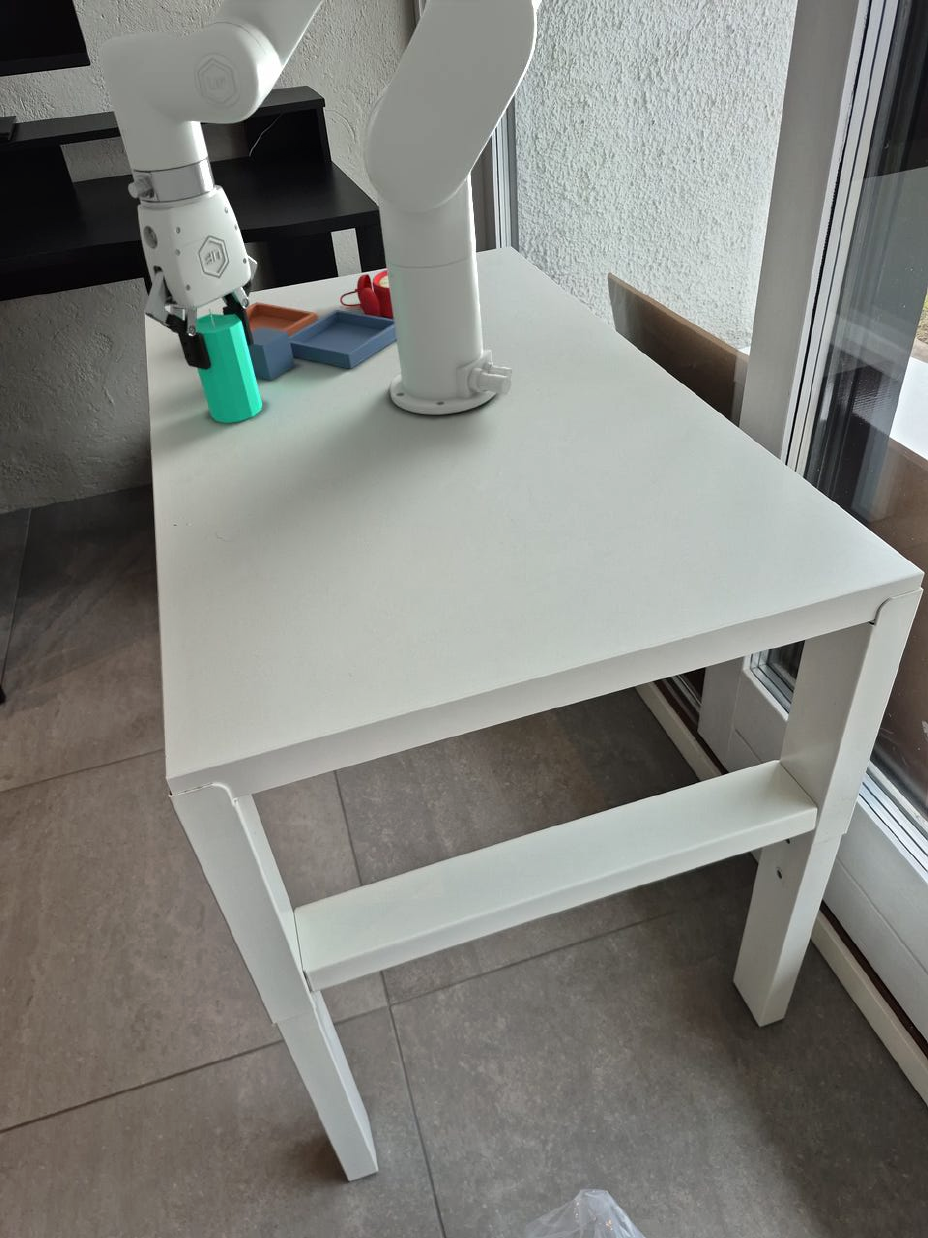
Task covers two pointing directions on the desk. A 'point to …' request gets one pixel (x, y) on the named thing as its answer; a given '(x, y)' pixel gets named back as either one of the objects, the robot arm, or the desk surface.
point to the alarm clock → (373, 295)
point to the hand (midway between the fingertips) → (221, 353)
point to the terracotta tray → (279, 318)
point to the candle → (228, 370)
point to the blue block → (270, 353)
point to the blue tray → (343, 338)
